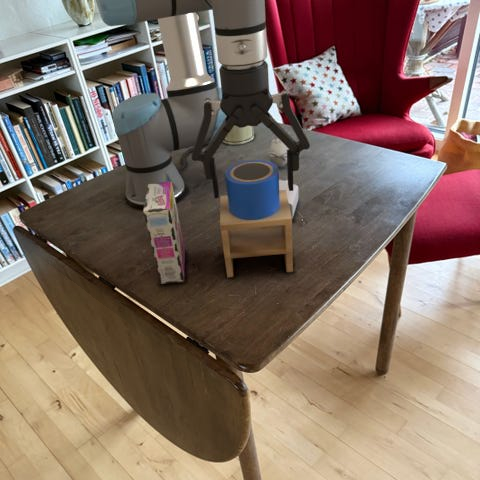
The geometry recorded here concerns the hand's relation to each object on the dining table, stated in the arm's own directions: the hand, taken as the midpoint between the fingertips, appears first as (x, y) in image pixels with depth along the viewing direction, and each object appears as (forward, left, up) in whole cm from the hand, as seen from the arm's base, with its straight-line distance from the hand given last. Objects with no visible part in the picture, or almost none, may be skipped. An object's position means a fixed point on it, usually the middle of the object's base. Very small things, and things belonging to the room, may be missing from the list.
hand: (253, 191), depth 84 cm
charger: (-22, +6, -16) cm, 27 cm away
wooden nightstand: (0, 0, -15) cm, 15 cm away
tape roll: (0, 0, -3) cm, 3 cm away
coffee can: (-65, -3, -16) cm, 67 cm away
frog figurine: (-43, +8, -16) cm, 46 cm away
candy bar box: (0, -18, -16) cm, 23 cm away
